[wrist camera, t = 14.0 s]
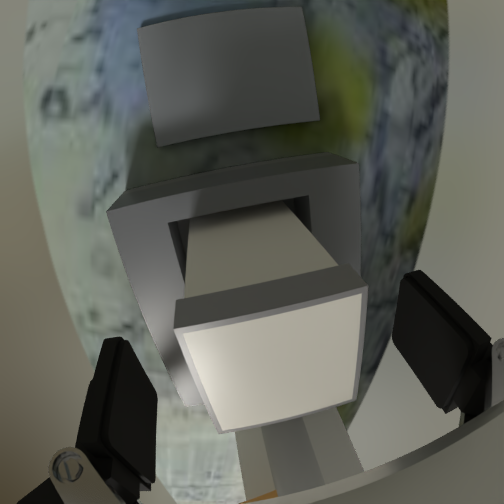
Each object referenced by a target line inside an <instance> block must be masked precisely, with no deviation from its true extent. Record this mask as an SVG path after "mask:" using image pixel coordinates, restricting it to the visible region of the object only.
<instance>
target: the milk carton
mask: <svg viewBox="0 0 504 504" xmlns="http://www.w3.org/2000/svg"><path fill="white" fill-rule="evenodd" d="M302 418H303V421H304V424H305V427H306V429H307V432H308V435H309V438H310V441H311V444H312V447H313V450H314V453H315V456H316V459H317V462H318V464H319V467H320V470H321V473H322V476H323V479H324V482H325V485H327V484H330V483H333V482H336V481H339V480H342V479H345V478H348V477H351V476H354V475H357V474H360V473H362V472H364V470H363V467H362V465H361V463H360V460H359V458H358V456H357V454H356V451H355V449H354V447H353V444H352V442H351V440H350V438H349V435H348V433H347V431H346V428H345V426H344V424H343V421H342V419H341V417H340V415H339V412H338V410H337V408H336V407H334V408H331V409H328V410H324V411H321V412H317V413H314V414H310V415H306V416H303V417H302ZM235 436H236V442H237V449H238V455H239V461H240V467H241V473H242V478H243V484H244V490H245V495H246V501H248V500H250V499H253V498H256V497H259V496H261V495H264V494H266V493H269V492H271V491H274V490H275V486H274V482H273V478H272V474H271V469H270V465H269V461H268V457H267V452H266V448H265V444H264V439H263V435H262V430H261V426H260V427H256V428H251V429H245V430H240V431H235Z"/></svg>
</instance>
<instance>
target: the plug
mask: <svg viewBox="0 0 504 504" xmlns="http://www.w3.org/2000/svg"><path fill="white" fill-rule="evenodd" d="M367 299H368V285H367V284H366V282H365V281H364V280H363V279H362V278H361V277H360V276H359V275H358V273H357V272H356V271H355V270H354V269H353V268H352V267H351V266H350V265H349V263H347V264H342V265H338V264H337V263H336V262H335V260H334V259H333V258H332V257H331V256H330V255H329V253H328V252H327V251H326V250H325V249H324V248H323V246H322V245H321V244H320V243H319V242H318V241H317V239H316V238H315V237H314V236H313V235H312V234H311V233H310V231H309V230H308V229H307V228H306V227H305V226H304V225H303V223H302V222H301V221H300V220H299V219H298V218H297V217H296V216H295V214H294V213H293V212H292V211H291V210H290V209H289V208H288V207H287V206H286V204H285V203H284V202H283V201H282V200H279V201H273V202H268V203H262V204H257V205H252V206H246V207H241V208H236V209H231V210H226V211H221V212H216V213H211V214H206V215H202V216H197V217H192V218H190V224H189V235H188V248H187V262H186V277H185V294H184V299H178V300H176V304H175V315H174V328H173V329H174V332H175V335H176V337H177V340H178V342H179V345H180V348H181V350H182V353H183V355H184V358H185V360H186V362H187V365H188V367H189V370H190V372H191V374H192V377H193V379H194V382H195V384H196V386H197V388H198V391H199V393H200V395H201V398H202V400H203V402H204V404H205V406H206V409H207V411H208V413H209V415H210V417H211V419H212V422H213V424H214V426H215V428H216V430H217V432H218V434H222V433H229V432H234V431H240V430H245V429H251V428H256V427H260V426H265V425H270V424H274V423H279V422H283V421H287V420H291V419H295V418H299V417H303V416H306V415H310V414H314V413H317V412H321V411H324V410H328V409H331V408H334V407H337V406H341V405H344V404H347V403H350V402H353V401H356V399H357V393H358V386H359V379H360V371H361V363H362V355H363V346H364V336H365V325H366V313H367Z"/></svg>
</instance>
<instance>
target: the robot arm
mask: <svg viewBox="0 0 504 504" xmlns="http://www.w3.org/2000/svg"><path fill="white" fill-rule="evenodd" d="M392 340H393V343H394V345H395V346H396V348H397V349H398V350H399V352H400V353H401V355H402V356H403V357H404V359H405V360H406V362H407V363H408V365H409V366H410V367H411V369H412V370H413V372H414V373H415V375H416V376H417V378H418V379H419V380H420V382H421V383H422V385H423V386H424V388H425V389H426V391H427V392H428V394H429V395H430V397H431V398H432V400H433V401H434V403H435V404H436V406H437V407H438V408H442V409H443V411H444V412H445V414H446V413H448V412H450V411H452V410H454V409H455V408H457V407H459V409H460V410H461V415H460V422H459V427H458V428H456V429H455V430H453V431H451V432H449V433H447V434H446V435H444V436H442V437H440V438H438V439H436V440H434V441H433V442H431V443H429V444H427V445H425V446H423V447H421V448H419V449H417V450H415V451H412V452H410V453H408V454H406V455H404V456H402V457H399V458H397V459H395V460H392V461H390V462H388V463H385V464H383V465H380V466H378V467H375V468H373V469H370V470H368V471H365V472H362V473H360V474H357V475H354V476H351V477H348V478H345V479H342V480H339V481H336V482H333V483H330V484H327V485H323V486H320V487H316V488H313V489H309V490H305V491H301V492H297V493H293V494H289V495H285V496H280V497H276V498H271V499H266V500H260V501H255V502H249V503H243V504H504V338H502V339H498V340H497V341H496V342H495V343H494V344H493V345H492V344H491V343H490V341H491V337H490V336H489V335H488V334H487V333H486V332H485V331H484V330H483V329H482V328H481V327H480V326H479V325H478V324H477V323H476V322H475V321H474V320H473V319H472V318H471V317H470V316H469V315H468V314H467V313H466V312H465V311H464V310H463V309H462V308H461V307H460V306H459V305H458V304H457V303H456V302H455V301H454V300H453V299H451V297H449V295H448V294H446V293H445V292H444V291H443V290H442V289H441V288H440V287H439V286H438V285H437V284H436V283H434V281H432V280H431V279H430V278H429V277H428V276H427V275H426V274H425V273H424V272H422V271H421V270H416V271H413V272H410V273H406V274H405V275H404V278H403V279H402V280H401V282H400V288H399V295H398V302H397V309H396V315H395V321H394V327H393V332H392ZM157 401H158V398H157V393H156V391H155V389H154V387H153V385H152V383H151V382H150V380H149V378H148V376H147V375H146V373H145V371H144V369H143V367H142V365H141V364H140V362H139V360H138V358H137V356H136V354H135V352H134V350H133V348H132V346H131V345H130V343H129V341H128V340H124V339H123V338H122V337H113V338H107V339H104V341H103V344H102V348H101V351H100V355H99V358H98V362H97V365H96V369H95V373H94V377H93V379H92V380H91V381H90V384H89V387H88V391H87V395H86V400H85V403H84V407H83V412H82V417H81V421H80V425H79V430H78V435H77V441H76V445H75V448H74V447H66V448H63V449H60V450H58V451H57V452H56V453H55V454H54V455H53V456H52V458H51V460H50V462H49V466H48V473H49V476H50V477H49V478H48V479H47V480H45V481H44V482H43V483H42V484H40V485H39V486H38V487H37V488H35V489H34V490H33V491H31V492H30V493H29V494H27V495H26V496H25V497H24V498H22V499H21V500H20V501H19V502H18V503H17V504H142V503H141V502H140V501H139V498H140V491H151V483H154V482H155V467H156V423H157Z"/></svg>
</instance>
